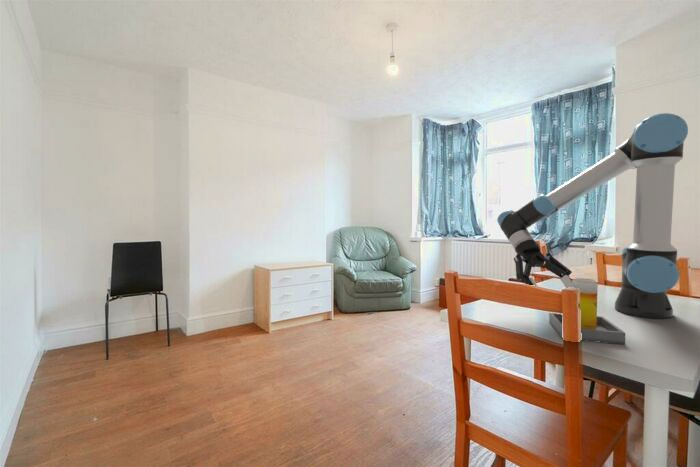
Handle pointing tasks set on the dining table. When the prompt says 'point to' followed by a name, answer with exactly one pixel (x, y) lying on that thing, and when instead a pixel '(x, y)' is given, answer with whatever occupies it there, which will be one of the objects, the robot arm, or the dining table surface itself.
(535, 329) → the dining table surface
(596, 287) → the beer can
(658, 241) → the robot arm
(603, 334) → the tray
